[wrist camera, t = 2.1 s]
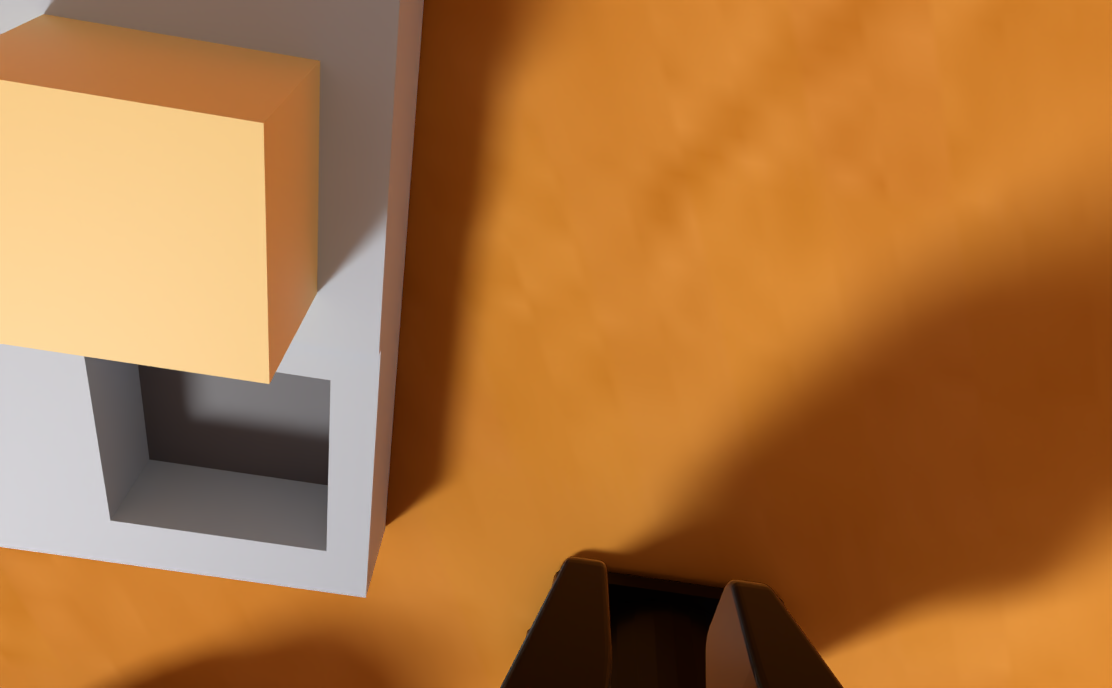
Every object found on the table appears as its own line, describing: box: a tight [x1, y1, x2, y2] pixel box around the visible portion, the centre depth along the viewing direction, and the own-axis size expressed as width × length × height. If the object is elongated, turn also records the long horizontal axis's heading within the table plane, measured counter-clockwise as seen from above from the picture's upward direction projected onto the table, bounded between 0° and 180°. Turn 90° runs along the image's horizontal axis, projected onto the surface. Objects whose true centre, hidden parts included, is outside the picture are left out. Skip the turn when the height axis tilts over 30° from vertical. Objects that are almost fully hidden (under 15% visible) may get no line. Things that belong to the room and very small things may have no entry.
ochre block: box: [0, 14, 320, 384], centre depth 15 cm, size 4×4×3 cm
